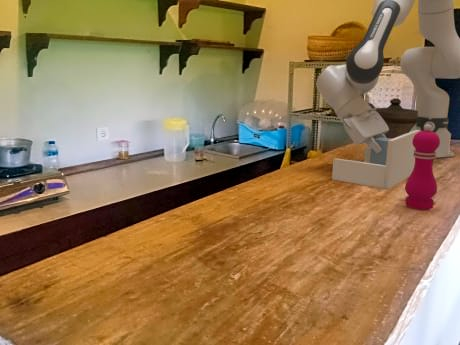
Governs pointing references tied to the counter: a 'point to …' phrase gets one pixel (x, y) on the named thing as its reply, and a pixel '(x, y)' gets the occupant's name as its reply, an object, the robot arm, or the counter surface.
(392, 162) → the open box
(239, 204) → the counter surface
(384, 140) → the block
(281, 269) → the counter surface
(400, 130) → the wooden container
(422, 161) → the pepper mill
